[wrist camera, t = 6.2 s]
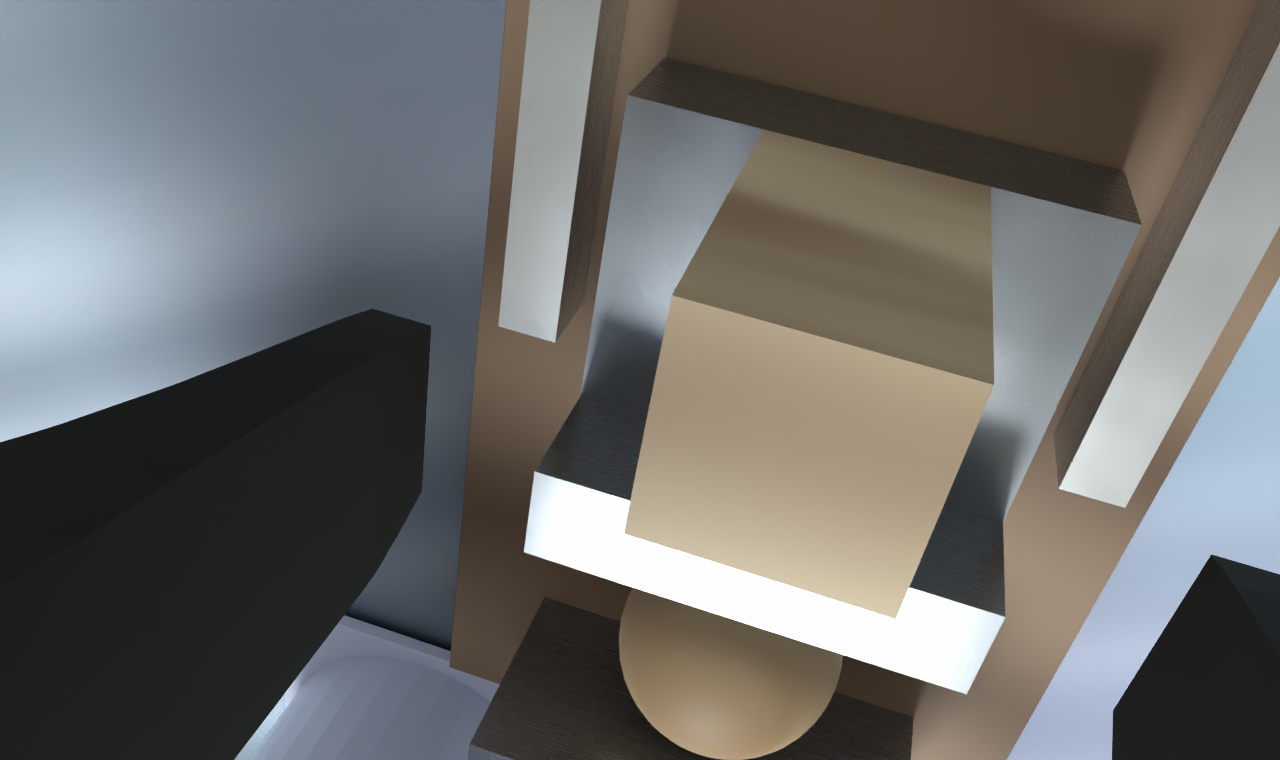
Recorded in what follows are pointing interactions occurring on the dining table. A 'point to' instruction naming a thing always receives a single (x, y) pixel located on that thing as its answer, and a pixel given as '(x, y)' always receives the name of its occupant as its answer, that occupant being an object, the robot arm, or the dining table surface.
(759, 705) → the tan ball
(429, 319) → the dining table surface
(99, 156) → the dining table surface
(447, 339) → the dining table surface
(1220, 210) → the press base
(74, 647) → the robot arm
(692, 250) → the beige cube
